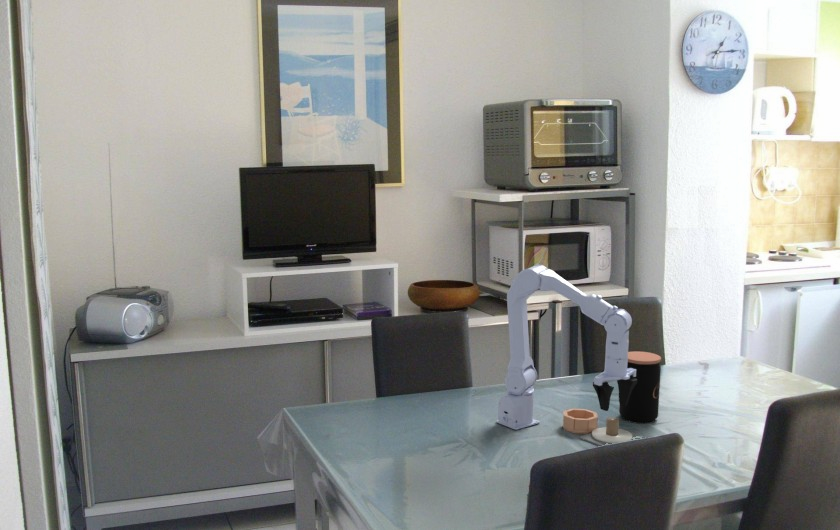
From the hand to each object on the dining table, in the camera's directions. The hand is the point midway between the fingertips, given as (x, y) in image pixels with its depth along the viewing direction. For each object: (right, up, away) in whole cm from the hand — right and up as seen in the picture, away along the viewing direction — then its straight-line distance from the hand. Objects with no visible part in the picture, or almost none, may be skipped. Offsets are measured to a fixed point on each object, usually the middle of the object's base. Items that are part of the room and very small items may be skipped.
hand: (613, 407), depth 223 cm
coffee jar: (+11, -6, +18) cm, 22 cm away
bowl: (-7, -7, +9) cm, 14 cm away
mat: (0, -9, +1) cm, 9 cm away
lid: (0, -8, +1) cm, 8 cm away
